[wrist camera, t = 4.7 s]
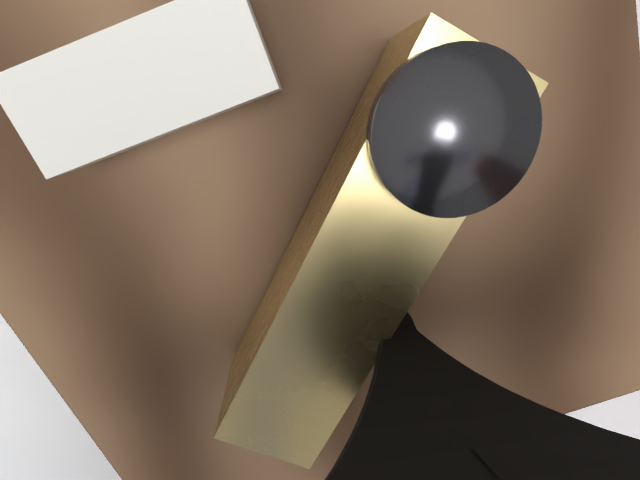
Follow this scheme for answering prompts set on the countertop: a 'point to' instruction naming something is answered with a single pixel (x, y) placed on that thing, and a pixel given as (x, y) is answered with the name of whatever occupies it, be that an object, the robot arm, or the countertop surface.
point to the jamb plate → (286, 212)
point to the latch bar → (378, 230)
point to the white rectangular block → (137, 82)
